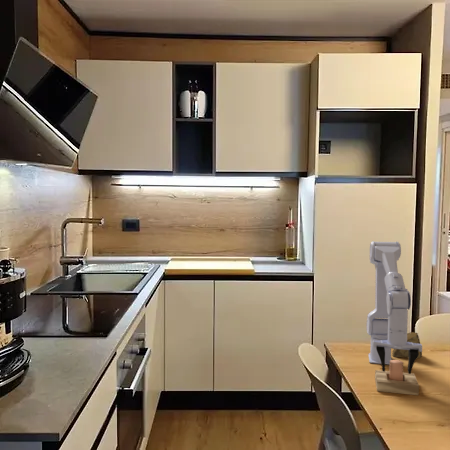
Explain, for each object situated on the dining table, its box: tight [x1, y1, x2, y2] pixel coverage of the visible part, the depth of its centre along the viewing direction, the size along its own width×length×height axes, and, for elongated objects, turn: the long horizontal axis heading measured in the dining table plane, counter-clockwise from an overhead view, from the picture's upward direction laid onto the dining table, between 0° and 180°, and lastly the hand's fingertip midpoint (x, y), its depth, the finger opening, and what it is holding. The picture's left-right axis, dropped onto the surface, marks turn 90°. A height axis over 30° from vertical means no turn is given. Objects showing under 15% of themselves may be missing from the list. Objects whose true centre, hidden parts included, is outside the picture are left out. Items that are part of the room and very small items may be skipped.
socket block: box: [374, 369, 420, 396], centre depth 150 cm, size 10×12×3 cm
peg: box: [389, 359, 404, 381], centre depth 150 cm, size 4×4×8 cm
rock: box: [391, 331, 423, 359], centre depth 180 cm, size 11×9×10 cm
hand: (396, 371), depth 150 cm, fingers open, 7 cm apart
